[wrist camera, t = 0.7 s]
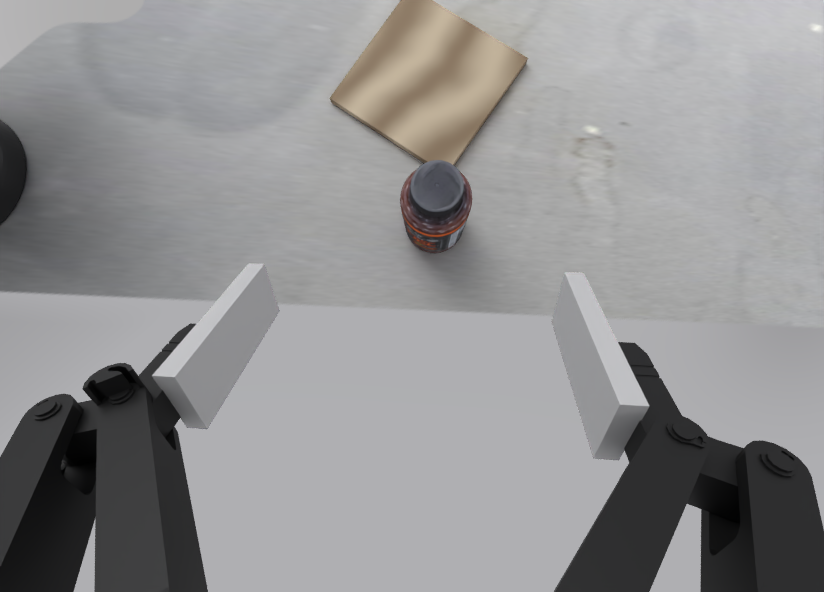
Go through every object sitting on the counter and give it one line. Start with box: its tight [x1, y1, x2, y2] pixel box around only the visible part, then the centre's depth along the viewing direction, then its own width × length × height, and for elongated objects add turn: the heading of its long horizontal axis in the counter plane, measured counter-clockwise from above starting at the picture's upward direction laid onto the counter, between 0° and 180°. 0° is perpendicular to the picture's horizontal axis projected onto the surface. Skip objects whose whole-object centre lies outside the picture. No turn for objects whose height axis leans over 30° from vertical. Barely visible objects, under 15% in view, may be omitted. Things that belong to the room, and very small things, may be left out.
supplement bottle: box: [400, 160, 472, 253], centre depth 33 cm, size 6×6×11 cm
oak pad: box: [330, 0, 528, 165], centre depth 39 cm, size 15×15×1 cm
